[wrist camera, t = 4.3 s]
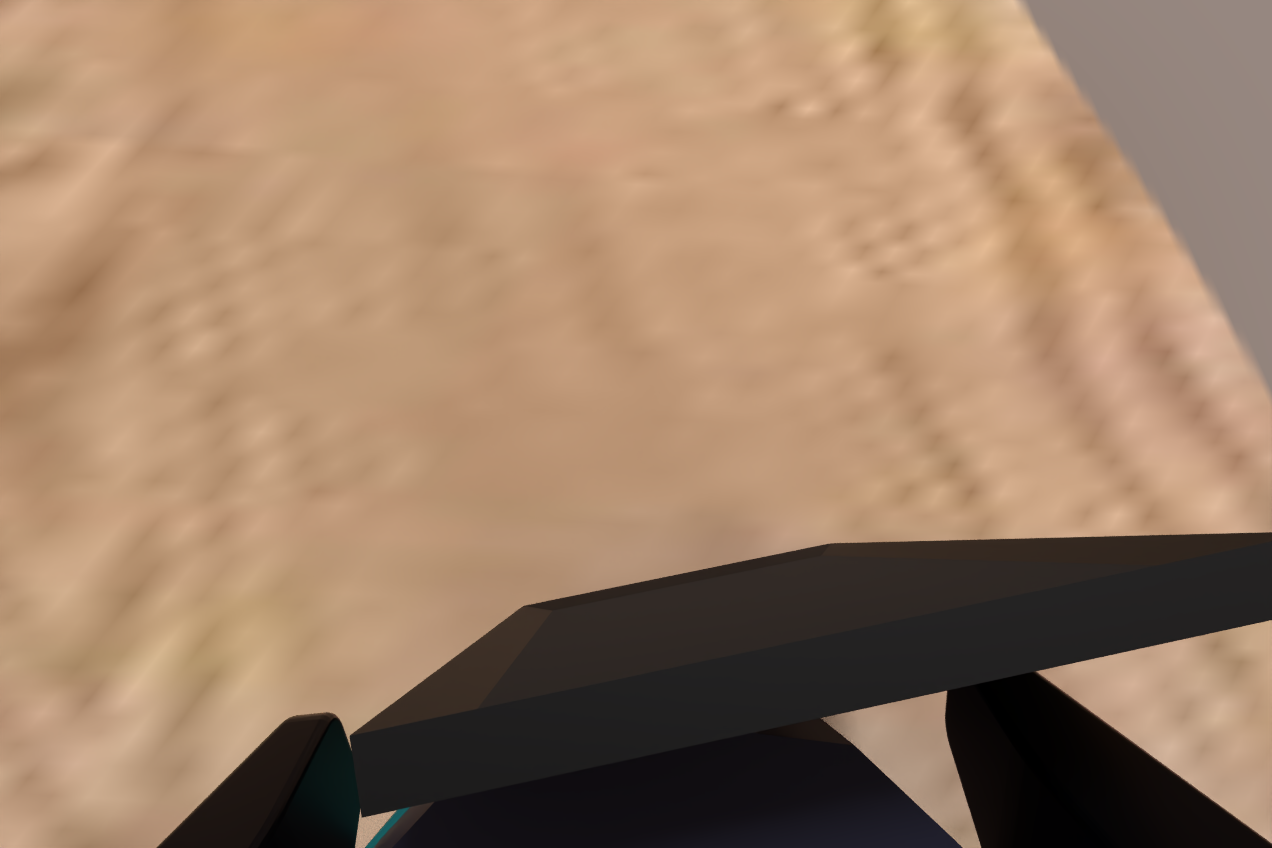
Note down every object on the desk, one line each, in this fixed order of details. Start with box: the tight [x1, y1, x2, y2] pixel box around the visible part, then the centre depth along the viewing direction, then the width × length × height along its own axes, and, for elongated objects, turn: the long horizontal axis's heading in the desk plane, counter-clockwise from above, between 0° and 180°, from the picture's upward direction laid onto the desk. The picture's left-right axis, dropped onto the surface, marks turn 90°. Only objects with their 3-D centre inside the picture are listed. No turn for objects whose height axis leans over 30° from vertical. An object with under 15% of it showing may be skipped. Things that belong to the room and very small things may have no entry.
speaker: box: [350, 532, 1272, 848], centre depth 9 cm, size 8×6×10 cm
